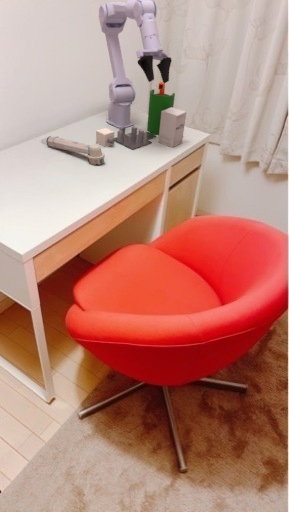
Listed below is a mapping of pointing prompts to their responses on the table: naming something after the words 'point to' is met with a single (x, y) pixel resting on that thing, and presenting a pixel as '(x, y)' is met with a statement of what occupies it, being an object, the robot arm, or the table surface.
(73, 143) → the beige long angled cylinder
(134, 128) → the grey peg tray
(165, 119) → the supplement box
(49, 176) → the table surface
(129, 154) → the table surface
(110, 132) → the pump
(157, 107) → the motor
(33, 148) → the table surface
